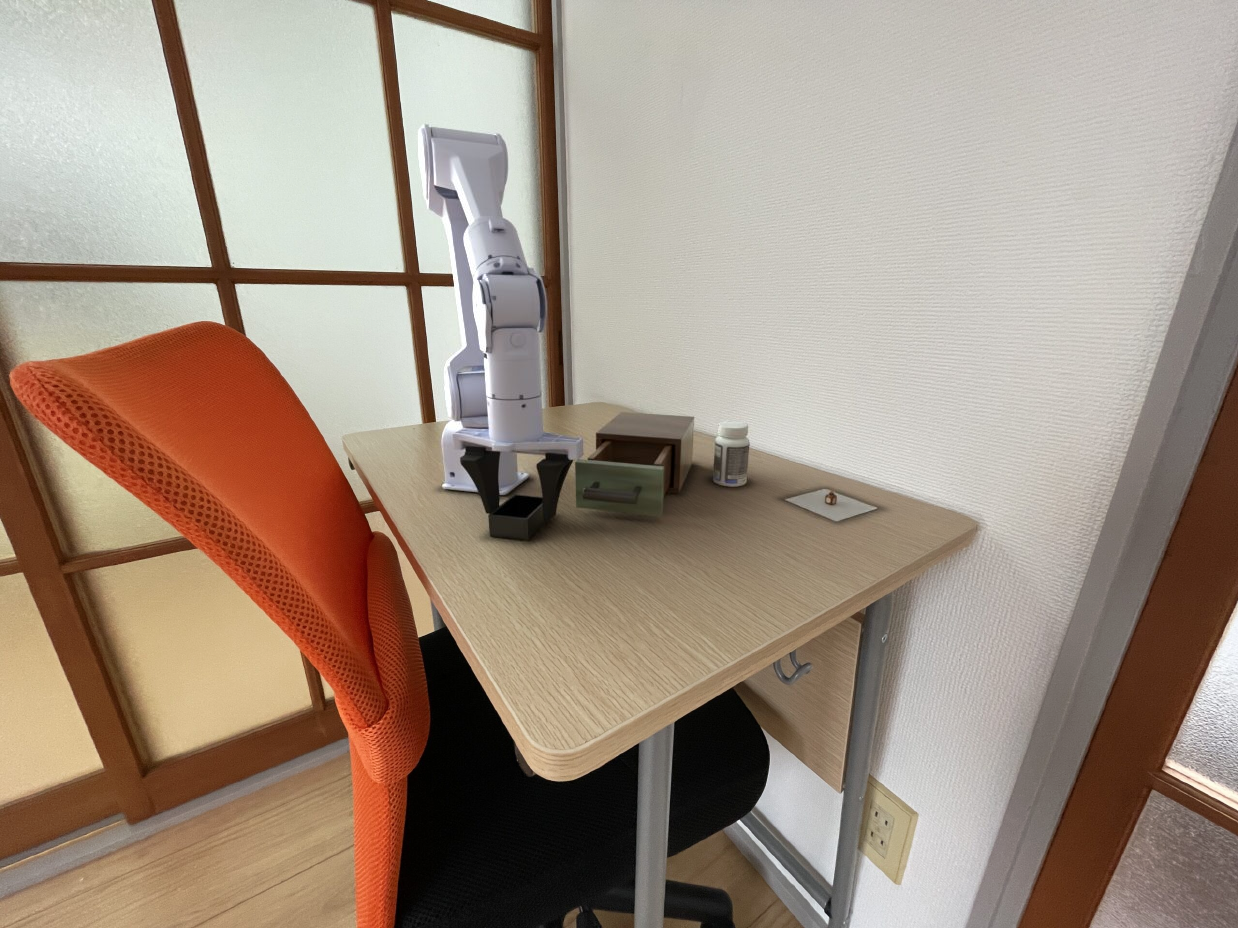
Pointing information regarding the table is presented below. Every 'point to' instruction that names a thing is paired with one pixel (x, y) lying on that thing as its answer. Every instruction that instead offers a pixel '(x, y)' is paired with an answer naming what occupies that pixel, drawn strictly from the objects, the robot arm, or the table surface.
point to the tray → (517, 518)
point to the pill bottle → (731, 454)
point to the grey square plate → (831, 504)
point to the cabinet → (655, 438)
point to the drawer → (625, 477)
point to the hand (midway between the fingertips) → (520, 513)
